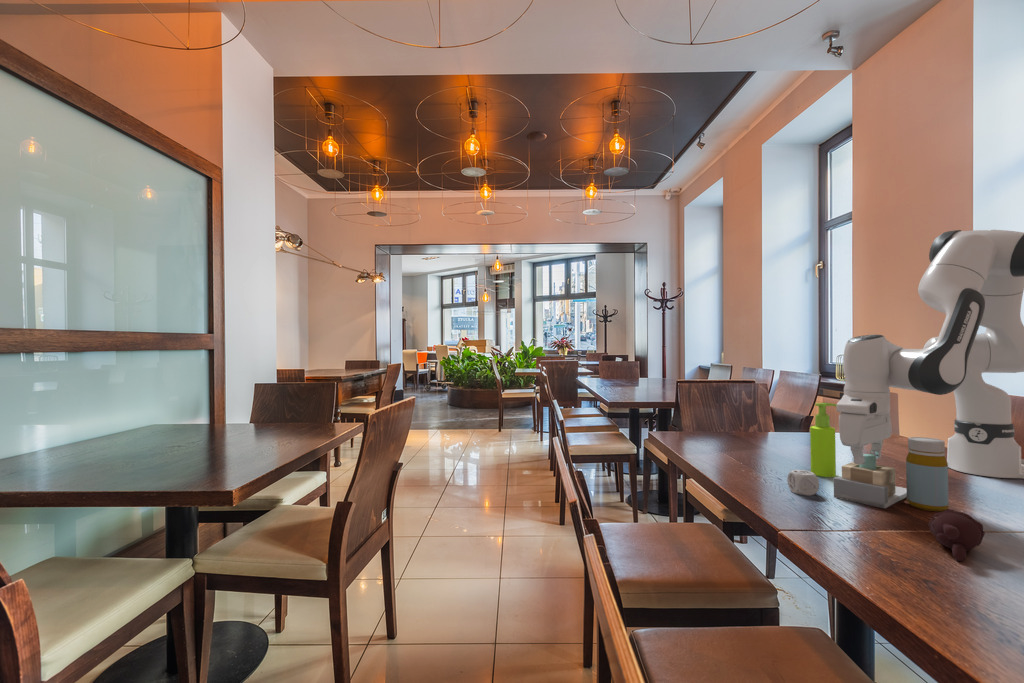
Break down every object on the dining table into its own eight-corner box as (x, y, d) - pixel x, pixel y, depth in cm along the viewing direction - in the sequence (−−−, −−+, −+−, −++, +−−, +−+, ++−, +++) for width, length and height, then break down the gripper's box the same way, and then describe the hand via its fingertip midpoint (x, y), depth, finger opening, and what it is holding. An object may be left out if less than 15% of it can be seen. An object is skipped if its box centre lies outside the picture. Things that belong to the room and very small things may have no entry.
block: (855, 485, 118) (855, 461, 118) (895, 493, 111) (895, 467, 111) (842, 491, 113) (841, 466, 113) (882, 499, 107) (882, 473, 107)
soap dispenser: (844, 477, 129) (843, 404, 130) (819, 477, 129) (818, 404, 130) (830, 471, 135) (829, 401, 135) (806, 471, 135) (805, 401, 136)
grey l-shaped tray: (864, 483, 123) (863, 466, 123) (912, 493, 115) (912, 475, 115) (833, 497, 113) (833, 478, 113) (884, 508, 105) (884, 488, 105)
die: (819, 495, 114) (819, 475, 114) (798, 495, 114) (798, 475, 114) (807, 489, 119) (807, 469, 119) (787, 489, 119) (786, 469, 119)
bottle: (956, 513, 101) (955, 443, 102) (919, 511, 103) (918, 442, 103) (934, 502, 108) (933, 437, 108) (899, 500, 110) (898, 436, 110)
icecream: (926, 497, 93) (917, 525, 82) (977, 496, 87) (975, 525, 77) (939, 533, 92) (932, 566, 81) (991, 534, 86) (991, 569, 76)
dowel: (878, 493, 112) (877, 455, 112) (874, 496, 110) (873, 457, 110) (862, 490, 114) (861, 453, 115) (858, 493, 112) (857, 455, 113)
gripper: (868, 398, 121) (869, 452, 121) (832, 405, 109) (833, 464, 109) (898, 400, 116) (899, 457, 116) (864, 408, 104) (866, 470, 104)
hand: (867, 460), depth 112 cm, fingers open, 8 cm apart
